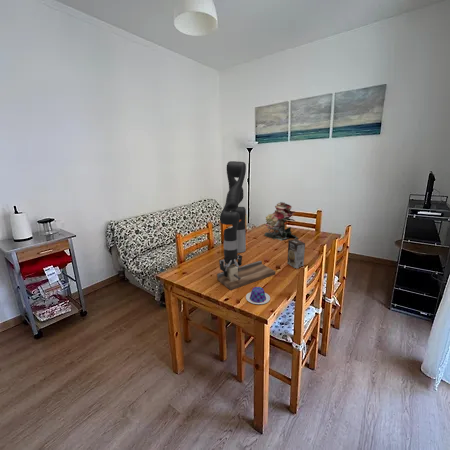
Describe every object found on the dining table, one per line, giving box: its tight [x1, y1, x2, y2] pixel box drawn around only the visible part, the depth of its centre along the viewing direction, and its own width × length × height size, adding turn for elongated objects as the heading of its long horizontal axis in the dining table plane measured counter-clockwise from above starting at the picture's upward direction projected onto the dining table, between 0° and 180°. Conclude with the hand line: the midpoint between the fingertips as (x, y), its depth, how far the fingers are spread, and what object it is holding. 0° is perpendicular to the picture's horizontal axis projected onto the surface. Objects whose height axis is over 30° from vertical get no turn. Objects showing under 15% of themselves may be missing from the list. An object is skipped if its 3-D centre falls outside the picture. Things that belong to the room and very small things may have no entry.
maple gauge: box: [226, 264, 241, 281], centre depth 138 cm, size 12×5×7 cm, turn 32°
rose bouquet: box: [264, 201, 299, 241], centre depth 213 cm, size 26×29×30 cm
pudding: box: [245, 286, 271, 305], centre depth 123 cm, size 12×12×5 cm
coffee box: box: [286, 239, 306, 269], centre depth 157 cm, size 9×6×16 cm
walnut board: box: [216, 260, 277, 291], centre depth 145 cm, size 14×32×4 cm, turn 122°
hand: (231, 274), depth 140 cm, fingers open, 6 cm apart
